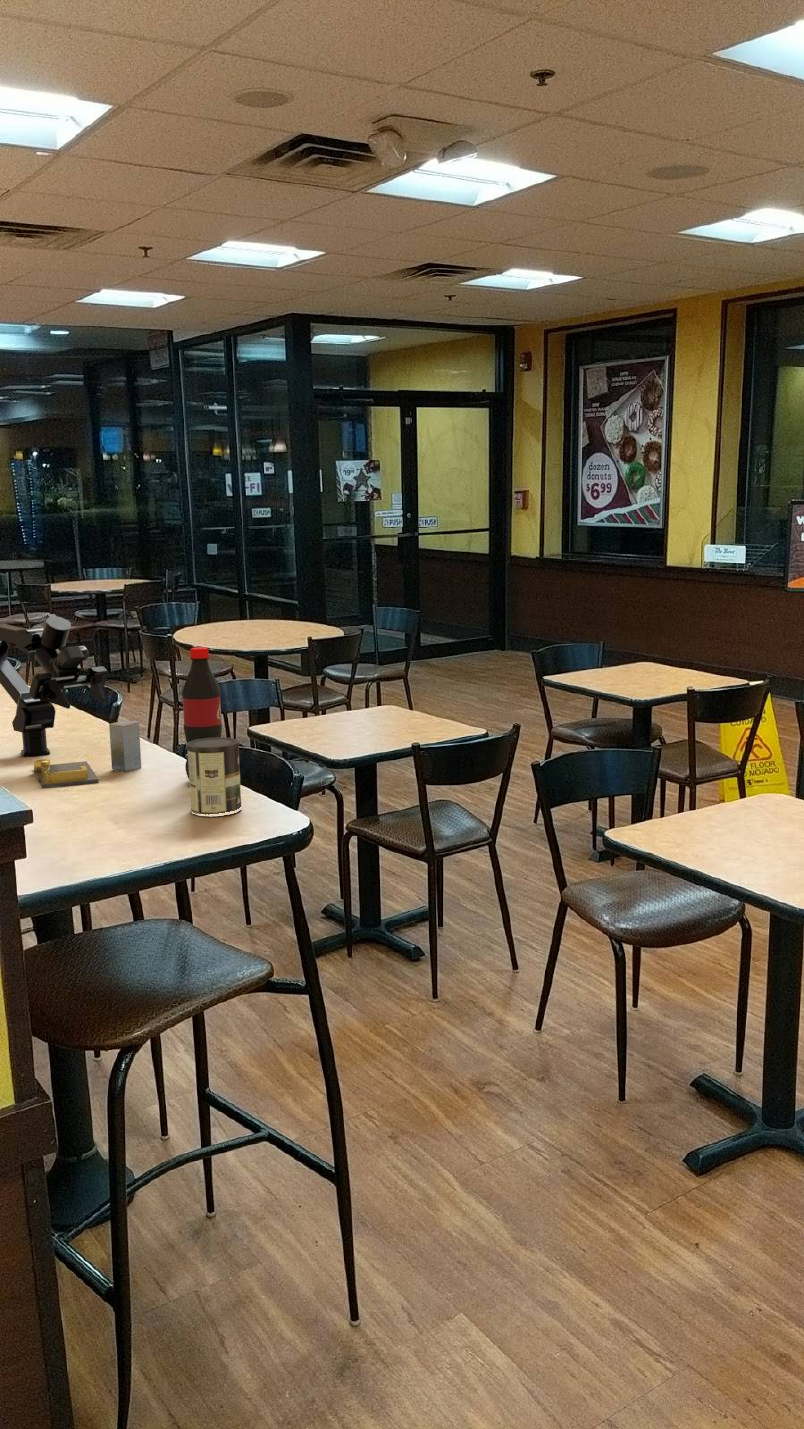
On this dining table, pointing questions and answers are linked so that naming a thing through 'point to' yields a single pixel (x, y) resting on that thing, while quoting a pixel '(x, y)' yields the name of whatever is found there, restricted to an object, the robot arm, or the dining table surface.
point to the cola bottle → (201, 700)
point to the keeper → (63, 773)
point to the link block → (125, 745)
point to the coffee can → (214, 775)
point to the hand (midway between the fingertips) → (86, 704)
